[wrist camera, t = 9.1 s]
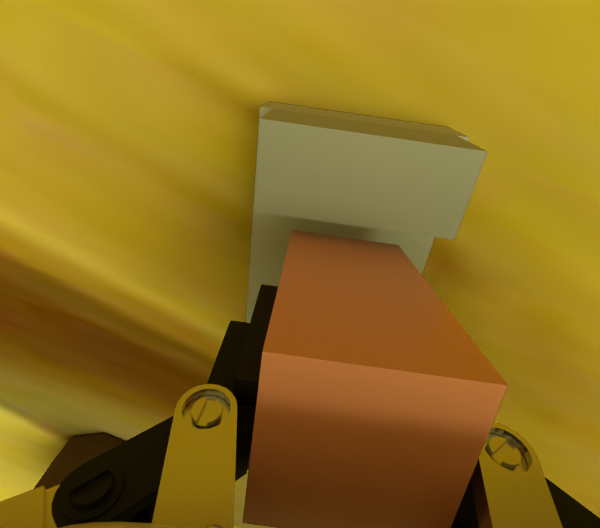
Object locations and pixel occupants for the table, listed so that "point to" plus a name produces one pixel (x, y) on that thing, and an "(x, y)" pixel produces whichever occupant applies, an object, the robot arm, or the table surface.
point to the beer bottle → (76, 456)
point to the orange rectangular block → (364, 395)
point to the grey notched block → (354, 184)
